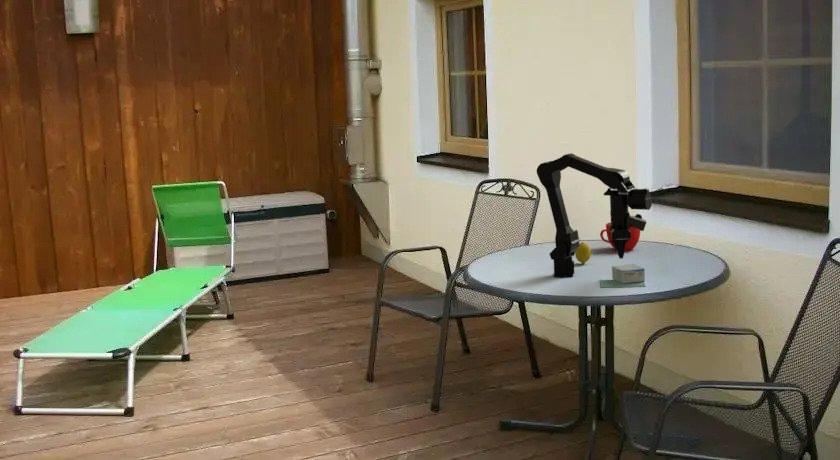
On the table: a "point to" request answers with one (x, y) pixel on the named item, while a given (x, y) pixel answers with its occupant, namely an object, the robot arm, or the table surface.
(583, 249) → the lemon
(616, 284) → the mat
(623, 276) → the medicine box
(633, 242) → the ceramic cup
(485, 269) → the table surface
